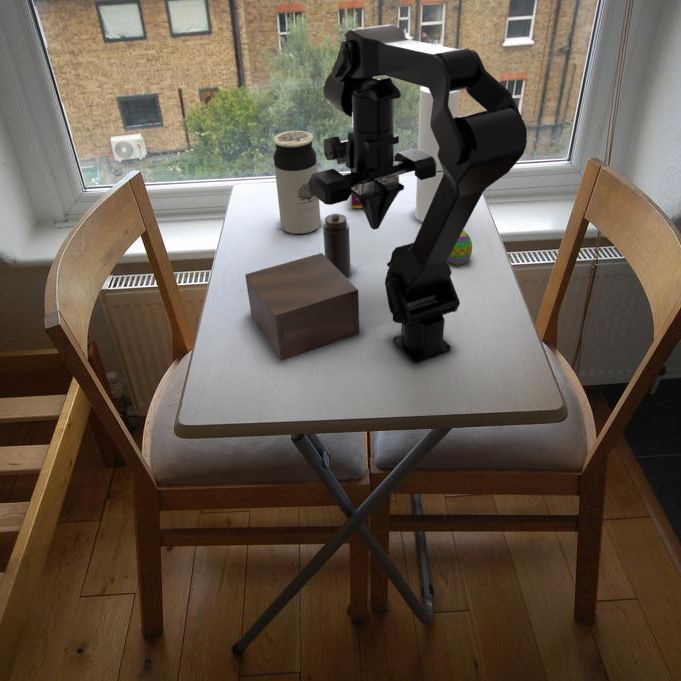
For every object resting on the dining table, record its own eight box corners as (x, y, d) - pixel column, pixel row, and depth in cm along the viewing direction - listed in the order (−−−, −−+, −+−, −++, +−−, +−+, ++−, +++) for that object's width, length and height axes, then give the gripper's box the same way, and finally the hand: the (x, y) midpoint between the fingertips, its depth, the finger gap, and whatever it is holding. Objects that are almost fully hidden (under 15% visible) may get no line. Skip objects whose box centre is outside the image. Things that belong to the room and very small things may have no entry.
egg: (467, 252, 114) (470, 222, 110) (473, 266, 110) (477, 235, 107) (441, 254, 114) (443, 224, 110) (446, 268, 110) (448, 237, 106)
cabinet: (251, 317, 101) (244, 274, 96) (324, 294, 105) (321, 252, 100) (280, 360, 91) (275, 315, 87) (359, 333, 96) (358, 289, 91)
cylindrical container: (456, 212, 127) (466, 85, 112) (441, 226, 122) (450, 95, 107) (425, 205, 130) (430, 80, 115) (409, 219, 126) (413, 91, 110)
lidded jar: (352, 278, 109) (350, 218, 102) (327, 280, 108) (323, 220, 101) (348, 265, 112) (346, 206, 105) (324, 267, 112) (320, 209, 105)
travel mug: (276, 221, 127) (266, 134, 116) (313, 213, 129) (306, 127, 118) (288, 238, 121) (278, 148, 110) (326, 230, 123) (320, 140, 112)
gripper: (398, 100, 95) (397, 195, 105) (288, 124, 89) (297, 223, 98) (441, 119, 87) (436, 220, 97) (323, 146, 81) (330, 252, 90)
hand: (374, 228), depth 96 cm, fingers closed
